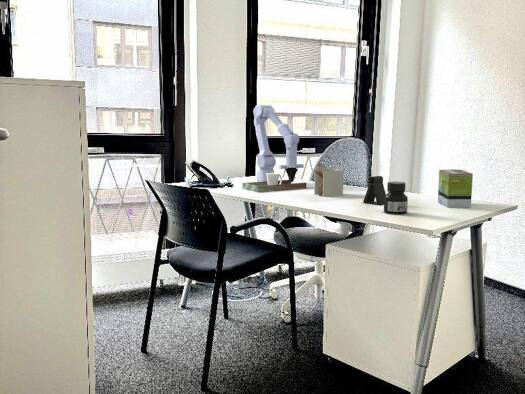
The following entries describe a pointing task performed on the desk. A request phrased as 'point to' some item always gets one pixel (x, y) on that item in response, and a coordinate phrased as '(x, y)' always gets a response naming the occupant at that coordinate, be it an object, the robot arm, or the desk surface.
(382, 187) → the black binoculars
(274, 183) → the cup
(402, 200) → the ink bottle
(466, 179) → the tea box
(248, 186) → the trap box
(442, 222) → the desk surface
